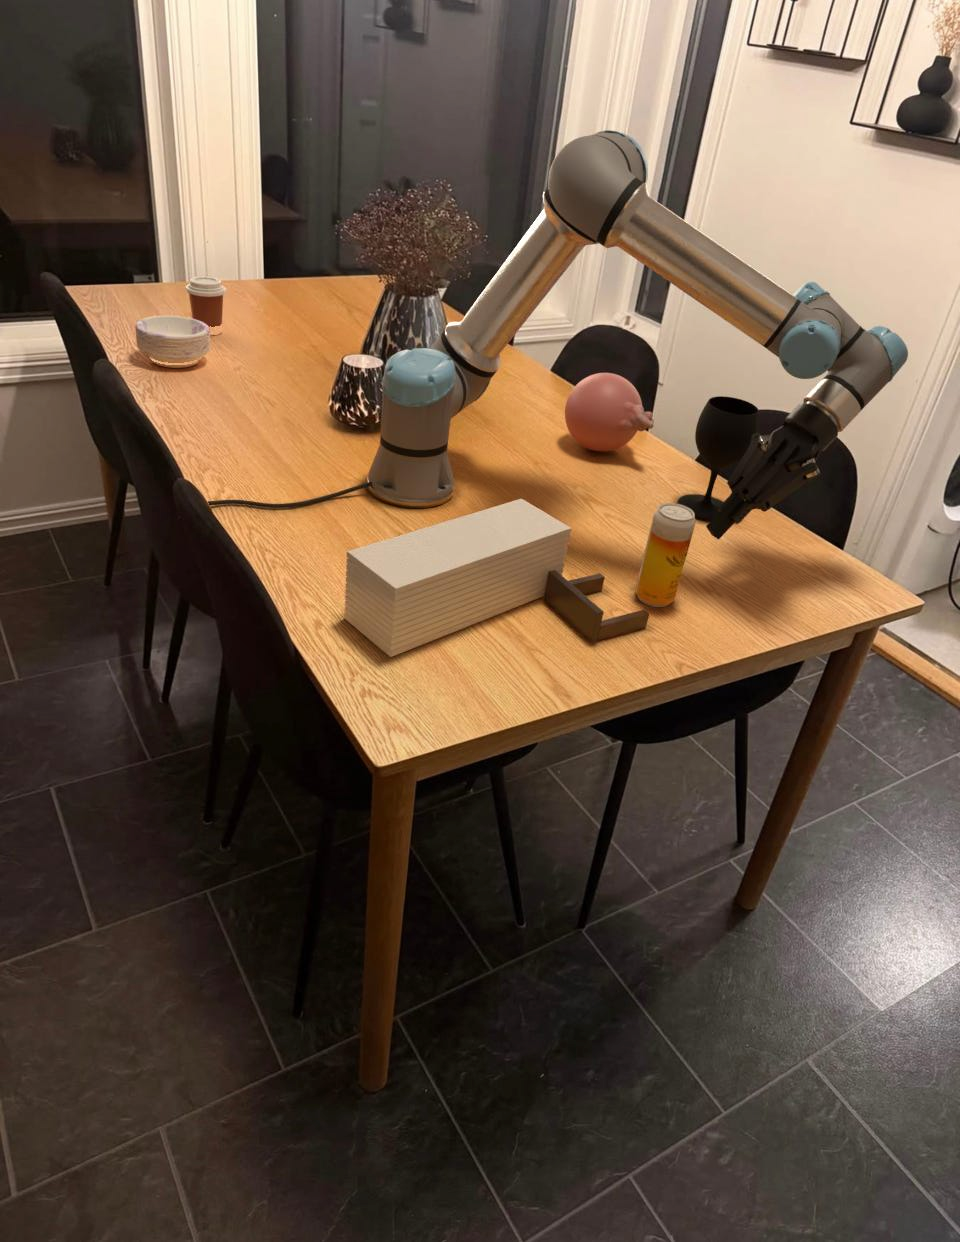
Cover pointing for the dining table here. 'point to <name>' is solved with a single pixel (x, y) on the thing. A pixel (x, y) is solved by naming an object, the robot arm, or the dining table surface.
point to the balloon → (605, 412)
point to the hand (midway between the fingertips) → (712, 532)
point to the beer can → (665, 554)
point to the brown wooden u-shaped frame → (588, 607)
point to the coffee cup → (206, 299)
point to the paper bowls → (173, 339)
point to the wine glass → (721, 445)
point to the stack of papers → (452, 574)
